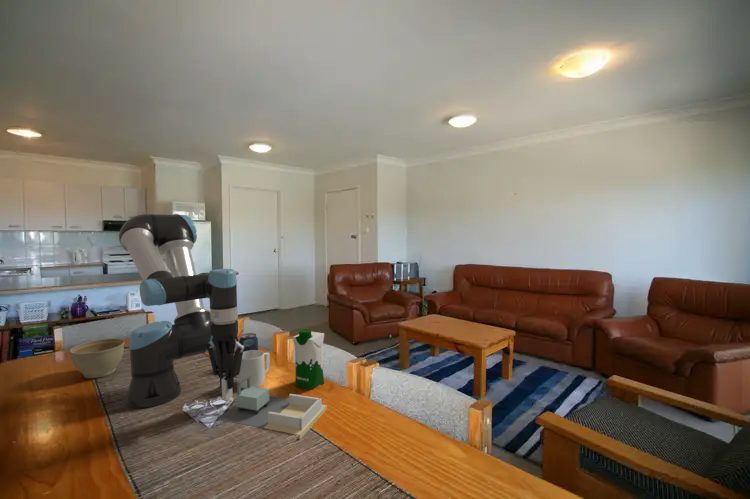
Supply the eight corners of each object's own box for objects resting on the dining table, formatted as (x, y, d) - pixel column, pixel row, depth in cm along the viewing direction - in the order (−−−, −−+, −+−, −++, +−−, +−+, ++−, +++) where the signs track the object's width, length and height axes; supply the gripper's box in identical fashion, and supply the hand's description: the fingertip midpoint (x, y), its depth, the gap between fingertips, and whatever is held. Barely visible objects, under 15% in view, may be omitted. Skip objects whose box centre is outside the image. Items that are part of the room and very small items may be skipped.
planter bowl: (61, 379, 131) (59, 349, 131) (108, 363, 146) (107, 336, 146) (89, 386, 125) (87, 355, 125) (135, 368, 140) (134, 341, 139)
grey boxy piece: (236, 411, 105) (235, 382, 104) (249, 401, 111) (248, 374, 110) (257, 415, 103) (256, 385, 102) (269, 405, 108) (268, 377, 108)
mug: (248, 394, 118) (247, 361, 117) (232, 388, 123) (231, 355, 122) (277, 381, 128) (276, 350, 127) (261, 375, 133) (260, 345, 132)
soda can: (255, 368, 139) (254, 338, 138) (237, 368, 139) (236, 338, 138) (261, 361, 146) (260, 332, 145) (244, 361, 146) (242, 332, 145)
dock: (217, 423, 101) (216, 408, 101) (253, 397, 116) (252, 384, 116) (300, 439, 93) (299, 423, 93) (327, 409, 108) (326, 395, 108)
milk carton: (291, 389, 121) (289, 331, 120) (307, 379, 129) (306, 324, 128) (313, 394, 117) (312, 334, 116) (328, 383, 126) (327, 326, 124)
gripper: (197, 323, 106) (200, 401, 108) (233, 326, 102) (237, 407, 104) (215, 316, 113) (218, 390, 115) (250, 319, 109) (253, 395, 111)
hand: (227, 398), depth 109 cm, fingers closed
